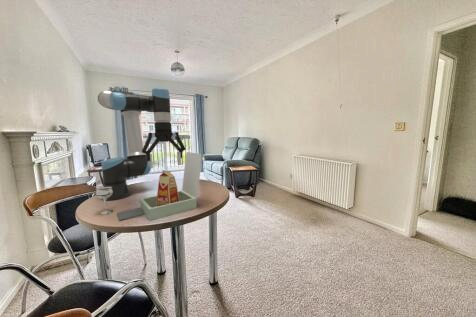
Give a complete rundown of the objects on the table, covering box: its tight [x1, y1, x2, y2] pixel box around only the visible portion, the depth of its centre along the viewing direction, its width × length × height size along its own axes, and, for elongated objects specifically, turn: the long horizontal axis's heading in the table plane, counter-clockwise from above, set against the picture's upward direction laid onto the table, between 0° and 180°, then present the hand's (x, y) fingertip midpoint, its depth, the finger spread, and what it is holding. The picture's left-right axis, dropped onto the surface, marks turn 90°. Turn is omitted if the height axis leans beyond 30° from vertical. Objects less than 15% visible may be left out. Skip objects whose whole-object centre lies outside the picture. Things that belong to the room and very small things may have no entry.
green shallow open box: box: [139, 190, 197, 221], centre depth 99 cm, size 18×22×5 cm
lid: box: [181, 151, 205, 199], centre depth 106 cm, size 18×22×2 cm
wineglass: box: [95, 186, 113, 215], centre depth 95 cm, size 7×7×12 cm
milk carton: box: [155, 169, 179, 207], centre depth 98 cm, size 9×9×20 cm
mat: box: [116, 207, 145, 222], centre depth 92 cm, size 10×10×1 cm
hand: (166, 166), depth 96 cm, fingers open, 13 cm apart
